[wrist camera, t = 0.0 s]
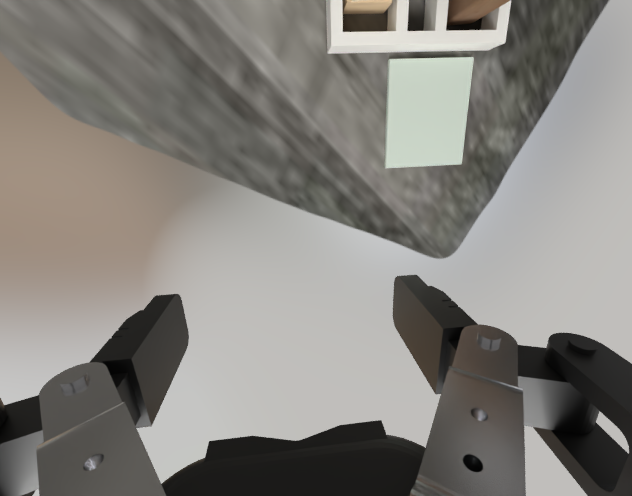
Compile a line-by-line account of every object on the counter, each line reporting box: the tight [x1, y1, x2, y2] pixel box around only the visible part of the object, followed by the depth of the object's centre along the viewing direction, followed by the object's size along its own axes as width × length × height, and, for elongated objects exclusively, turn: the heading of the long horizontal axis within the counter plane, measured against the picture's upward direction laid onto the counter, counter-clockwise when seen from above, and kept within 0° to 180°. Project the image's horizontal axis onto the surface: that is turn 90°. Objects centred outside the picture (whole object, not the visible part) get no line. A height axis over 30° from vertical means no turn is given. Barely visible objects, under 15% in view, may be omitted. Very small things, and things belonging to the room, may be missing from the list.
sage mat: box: [384, 57, 474, 168], centre depth 38 cm, size 12×10×1 cm
